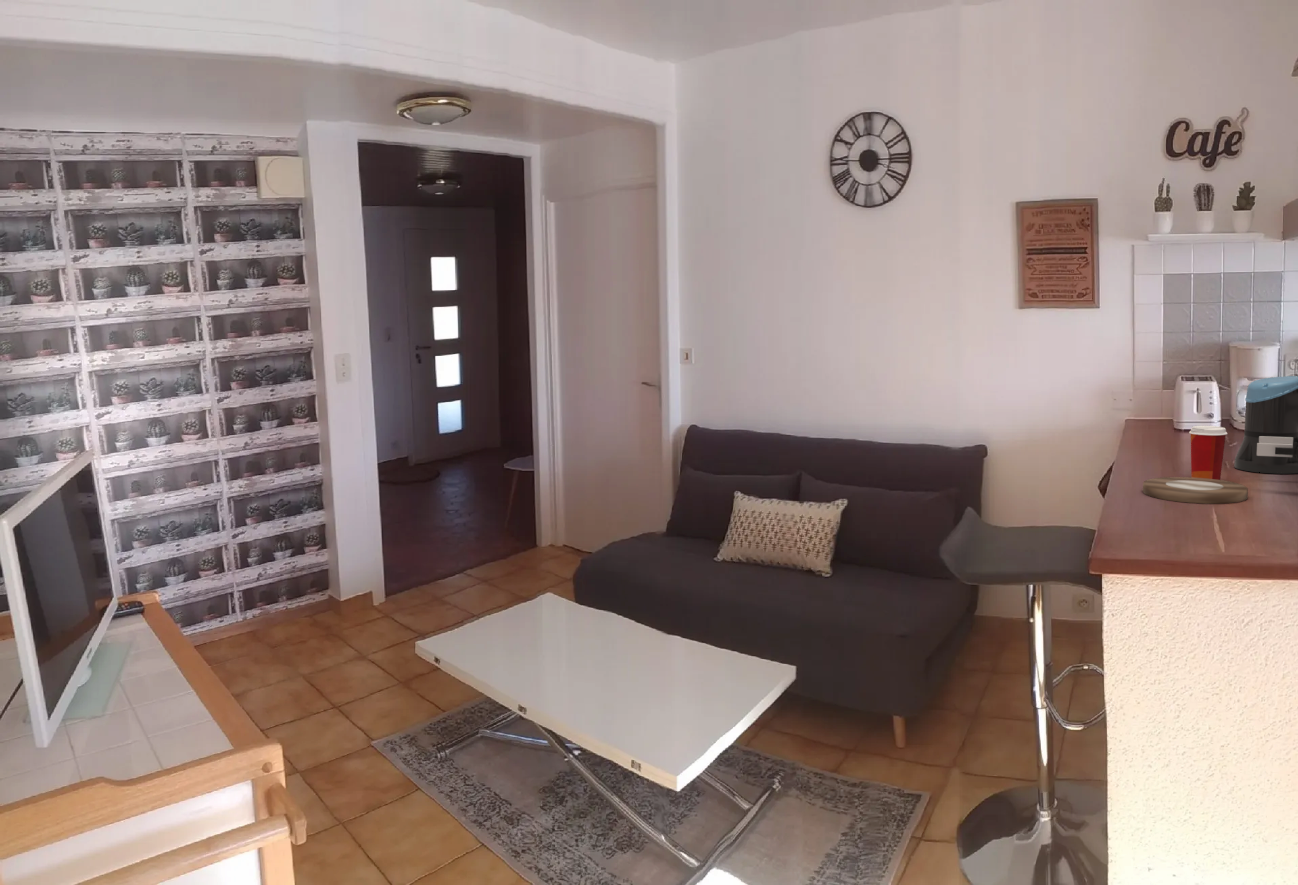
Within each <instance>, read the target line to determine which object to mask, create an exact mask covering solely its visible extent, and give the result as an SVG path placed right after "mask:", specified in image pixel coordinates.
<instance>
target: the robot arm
mask: <svg viewBox="0 0 1298 885" xmlns="http://www.w3.org/2000/svg"><path fill="white" fill-rule="evenodd" d="M1233 466H1234V469H1237V470H1240V471H1246V472H1251V473H1259V472H1260V473H1261V474H1262V473H1263V474H1273V475H1274V474H1275V475H1276V474H1277V475H1278V474H1280V475H1283V474H1287V475H1288V474H1291V475H1292V474H1298V376H1296V375H1287V376H1274V377H1265V378H1260V379H1256V380H1253V381H1251V382H1250V383H1249V384H1248V386H1247V390H1246V397H1245V414H1244V435H1243V439H1242V442H1241V445H1240V447H1239V448H1238V451H1237V453H1236V455H1235V457H1234V464H1233Z"/></svg>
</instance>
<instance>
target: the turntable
mask: <svg viewBox="0 0 1298 885" xmlns="http://www.w3.org/2000/svg"><path fill="white" fill-rule="evenodd" d="M1248 491H1249V488H1248V487H1247V485H1243V484H1241V483H1238V482H1234V481H1229V480H1222V479H1220V480H1216V479H1207V478H1193V477H1188V476H1173V477H1172V476H1171V477H1170V476H1168V477H1165V476H1164V477H1155V478H1150V479H1149V478H1148V479H1146V480H1143V482H1142V493H1143V494H1144V495H1146V496H1148V497H1152V498H1153V499H1154V498H1155V499H1158V500H1164V501H1169V502H1170V501H1171V502H1177V503H1187V504H1188V503H1189V504H1202V505H1204V504H1205V505H1207V504H1209V505H1211V504H1212V505H1213V504H1214V505H1219V504H1223V505H1225V504H1235V503H1236V504H1237V503H1240V502H1241V503H1242V502H1245V501H1246V500H1248V498H1249V497H1248V494H1249V492H1248Z"/></svg>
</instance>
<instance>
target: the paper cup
mask: <svg viewBox="0 0 1298 885" xmlns="http://www.w3.org/2000/svg"><path fill="white" fill-rule="evenodd" d="M1188 433H1189V434H1190V468H1191V469H1190V471H1191V473H1190V475H1191V477H1193V478H1207V479H1216V480H1221V476H1222V468H1223V460H1224V454H1225V453H1224V452H1225V443H1226V436H1227V435H1228V432H1227V429H1226V428H1225V427H1222V426H1219V425H1218V426H1217V425H1194V426H1192V427H1191V429H1190V431H1189V432H1188Z"/></svg>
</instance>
